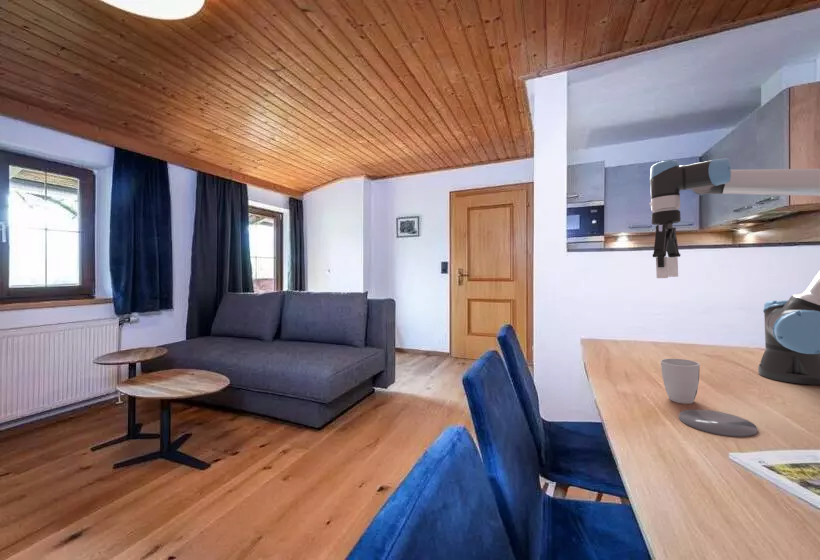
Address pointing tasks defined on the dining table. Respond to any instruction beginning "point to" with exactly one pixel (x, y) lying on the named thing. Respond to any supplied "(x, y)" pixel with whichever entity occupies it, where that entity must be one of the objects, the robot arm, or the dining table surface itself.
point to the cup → (680, 379)
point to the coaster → (718, 423)
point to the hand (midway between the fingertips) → (667, 277)
